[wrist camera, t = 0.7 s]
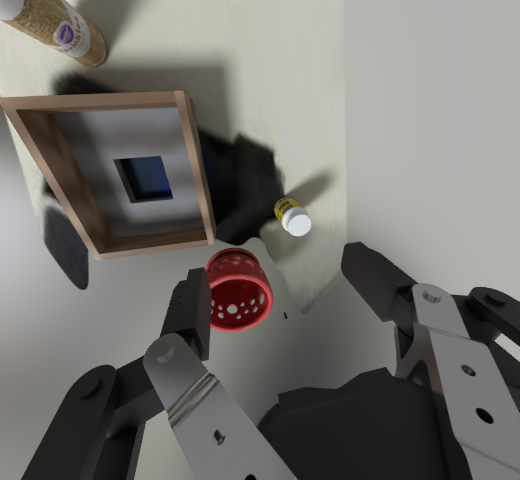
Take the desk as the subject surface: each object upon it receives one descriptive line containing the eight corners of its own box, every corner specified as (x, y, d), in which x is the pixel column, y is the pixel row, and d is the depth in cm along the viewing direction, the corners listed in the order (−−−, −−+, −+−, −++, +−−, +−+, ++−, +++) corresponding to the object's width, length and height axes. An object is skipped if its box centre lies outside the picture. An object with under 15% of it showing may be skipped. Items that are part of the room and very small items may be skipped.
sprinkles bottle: (104, 76, 24) (-1, 25, 13) (60, 51, 23) (-106, -34, 11) (111, 33, 23) (-2, -69, 11) (63, 3, 21) (-126, -154, 10)
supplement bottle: (281, 192, 36) (296, 206, 29) (301, 202, 38) (320, 218, 31) (269, 213, 38) (280, 232, 31) (288, 222, 40) (303, 242, 32)
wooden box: (50, 106, 25) (-4, 97, 19) (191, 99, 27) (183, 90, 21) (116, 238, 35) (95, 260, 29) (215, 226, 37) (214, 244, 31)
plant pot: (273, 264, 44) (288, 304, 34) (231, 296, 47) (234, 342, 36) (234, 227, 38) (239, 262, 28) (189, 266, 41) (178, 312, 30)
